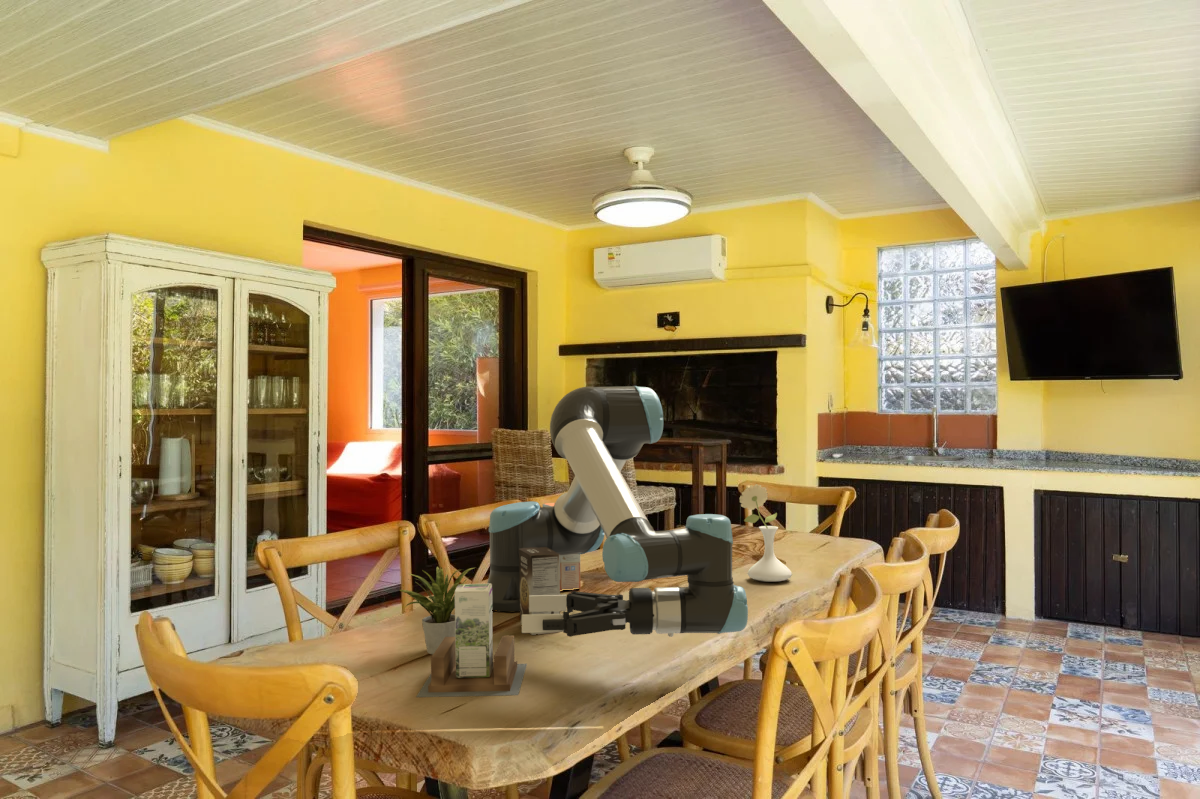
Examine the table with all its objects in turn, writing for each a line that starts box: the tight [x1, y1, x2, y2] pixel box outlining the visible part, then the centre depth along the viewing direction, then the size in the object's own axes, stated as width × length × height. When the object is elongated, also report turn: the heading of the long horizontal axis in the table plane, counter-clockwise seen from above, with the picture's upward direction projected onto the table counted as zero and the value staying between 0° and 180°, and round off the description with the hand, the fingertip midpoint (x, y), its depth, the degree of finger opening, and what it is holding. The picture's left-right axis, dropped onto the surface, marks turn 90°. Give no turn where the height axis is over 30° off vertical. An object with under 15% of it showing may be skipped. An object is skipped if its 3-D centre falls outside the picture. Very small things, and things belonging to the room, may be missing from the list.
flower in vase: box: [739, 483, 793, 583], centre depth 211 cm, size 13×11×25 cm
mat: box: [415, 663, 528, 698], centre depth 135 cm, size 16×16×1 cm
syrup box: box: [454, 583, 494, 678], centre depth 135 cm, size 6×6×14 cm
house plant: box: [399, 566, 477, 655], centre depth 154 cm, size 14×14×16 cm
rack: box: [428, 635, 518, 692], centre depth 135 cm, size 13×12×6 cm
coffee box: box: [519, 547, 561, 636], centre depth 168 cm, size 9×6×16 cm
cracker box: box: [542, 502, 582, 590], centre depth 209 cm, size 14×6×21 cm, turn 21°
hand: (525, 613), depth 135 cm, fingers open, 13 cm apart
